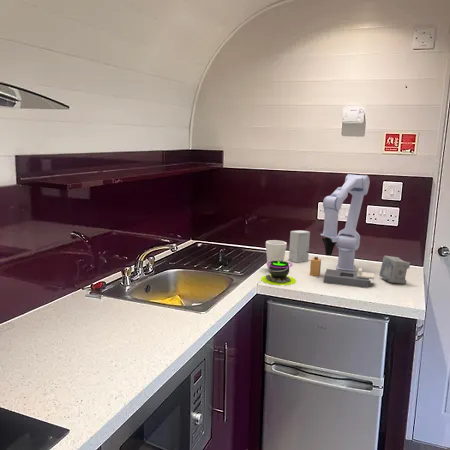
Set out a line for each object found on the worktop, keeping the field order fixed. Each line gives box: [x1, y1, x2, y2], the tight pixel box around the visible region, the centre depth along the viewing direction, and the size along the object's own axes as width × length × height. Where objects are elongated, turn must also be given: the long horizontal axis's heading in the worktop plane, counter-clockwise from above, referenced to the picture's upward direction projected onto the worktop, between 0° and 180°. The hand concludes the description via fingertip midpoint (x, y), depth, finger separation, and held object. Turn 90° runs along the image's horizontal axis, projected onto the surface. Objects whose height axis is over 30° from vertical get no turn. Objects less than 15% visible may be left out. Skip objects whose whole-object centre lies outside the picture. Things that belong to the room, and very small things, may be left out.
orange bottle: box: [309, 256, 322, 277], centre depth 208 cm, size 4×4×8 cm
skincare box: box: [288, 229, 311, 264], centre depth 230 cm, size 8×6×15 cm
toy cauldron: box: [260, 254, 297, 286], centre depth 198 cm, size 15×15×11 cm
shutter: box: [357, 267, 375, 280], centre depth 196 cm, size 7×7×3 cm
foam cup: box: [265, 239, 288, 272], centre depth 212 cm, size 10×9×13 cm
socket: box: [323, 268, 370, 289], centre depth 199 cm, size 11×18×3 cm, turn 71°
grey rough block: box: [379, 255, 411, 285], centre depth 201 cm, size 10×8×10 cm
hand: (328, 254), depth 203 cm, fingers closed
